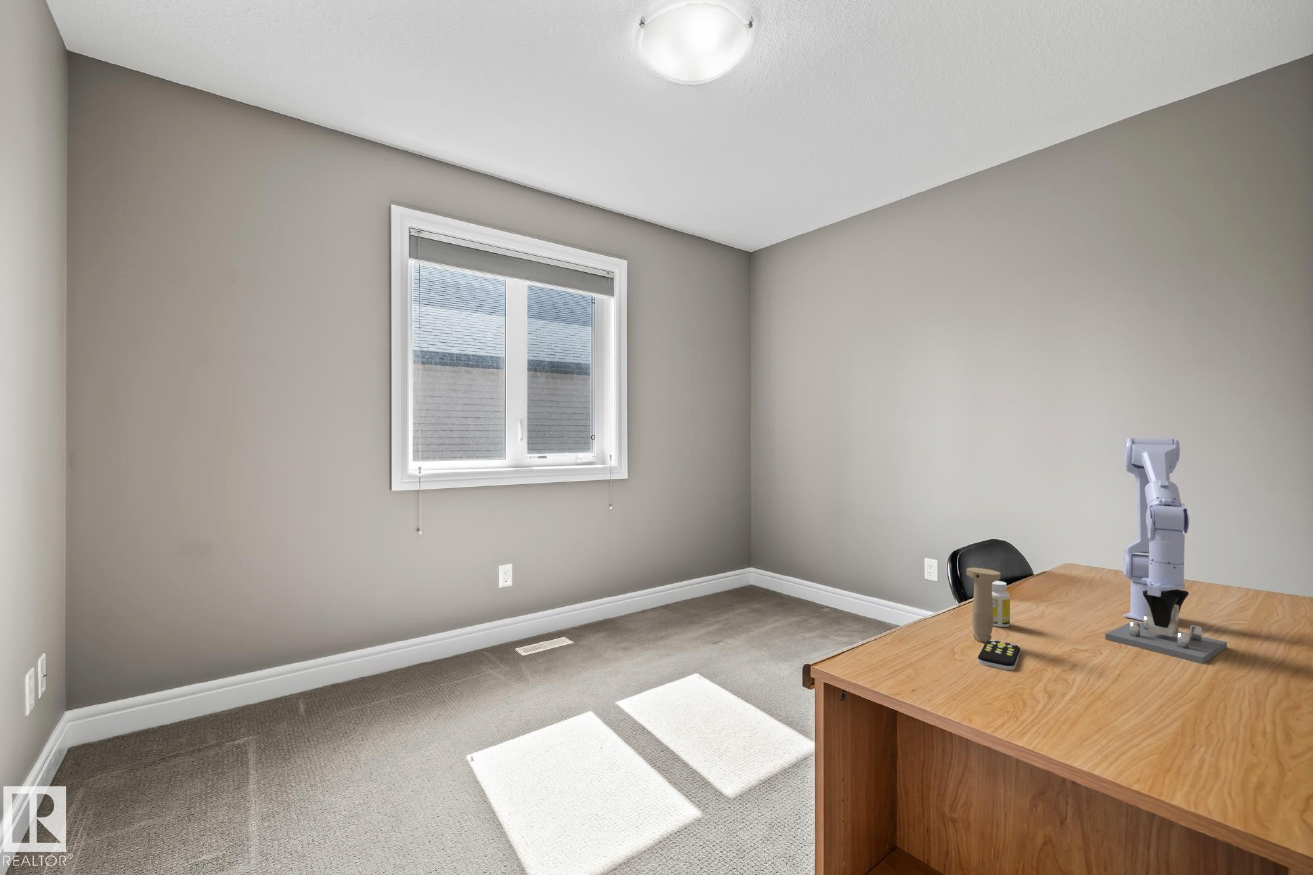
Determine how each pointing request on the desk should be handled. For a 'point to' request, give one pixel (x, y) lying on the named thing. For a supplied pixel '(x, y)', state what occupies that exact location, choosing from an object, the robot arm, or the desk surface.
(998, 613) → the supplement bottle
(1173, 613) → the cream block
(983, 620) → the handle
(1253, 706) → the desk surface
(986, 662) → the remote control
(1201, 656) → the peg board
